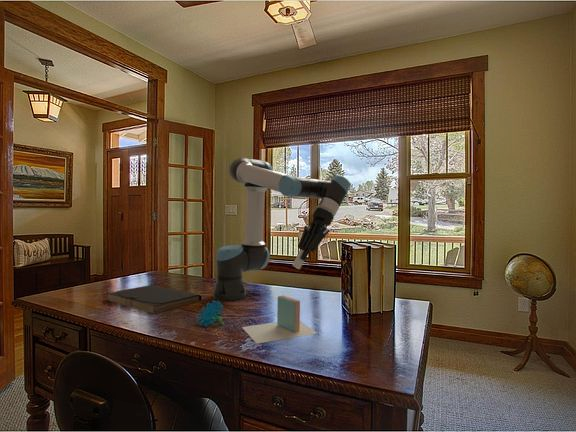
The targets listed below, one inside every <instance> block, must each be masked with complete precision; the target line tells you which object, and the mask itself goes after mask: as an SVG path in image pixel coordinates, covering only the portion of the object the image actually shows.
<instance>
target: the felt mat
mask: <svg viewBox="0 0 576 432" xmlns="http://www.w3.org/2000/svg"><path fill="white" fill-rule="evenodd" d="M241 328H242V329H243V330H244V331H245V332H246V334H248V336H249V337H250V338H251V339H252V340H253V341H254V342H255V343H256V344H263V343H269V342H275V341H280V340H286V339H287V340H288V339H292V338H298V337H299V338H300V337H303V336H309V335H316V334H318V332H317V331H315V330H314V329H312V328H311V327H309V326H308V325H306V324H305V323H303V322H302V321H301V320H300V331H298V332H292V331H290V330H288V329H286V328H283V327H281V326H279V325H277V321H275V322H269V323H260V324H255V325H254V324H253V325H248V326H242V327H241Z"/></svg>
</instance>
